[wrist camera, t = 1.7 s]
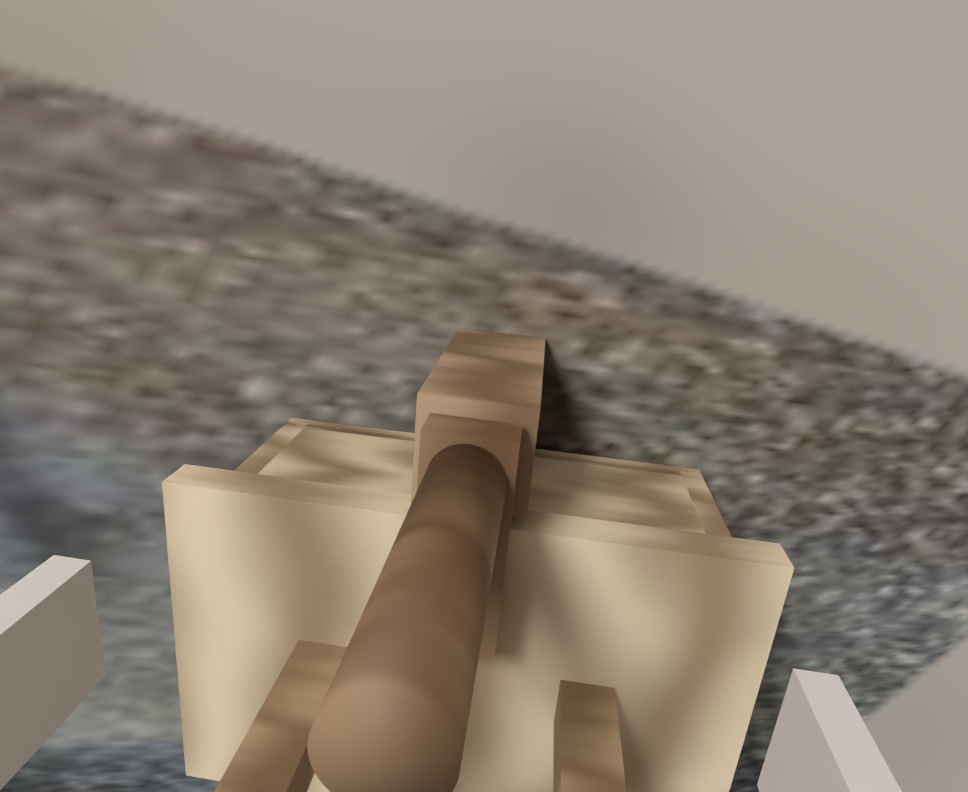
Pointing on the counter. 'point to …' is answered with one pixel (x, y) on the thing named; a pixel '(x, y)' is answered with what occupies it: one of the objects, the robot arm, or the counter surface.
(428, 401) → the toolbox
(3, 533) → the counter surface
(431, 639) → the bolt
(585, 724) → the lid
